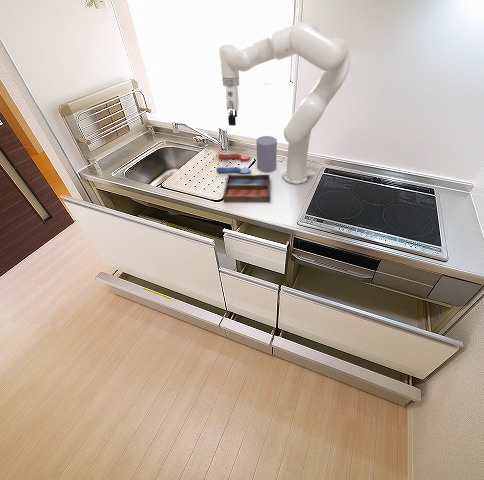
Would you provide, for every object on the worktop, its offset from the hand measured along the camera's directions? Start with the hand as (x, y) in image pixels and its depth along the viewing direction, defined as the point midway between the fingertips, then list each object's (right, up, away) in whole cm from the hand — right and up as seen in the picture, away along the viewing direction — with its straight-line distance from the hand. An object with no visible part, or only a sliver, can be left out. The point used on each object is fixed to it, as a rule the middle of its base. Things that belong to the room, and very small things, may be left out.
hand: (233, 120), depth 125 cm
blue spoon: (-2, -22, +12) cm, 25 cm away
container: (+16, -18, +16) cm, 29 cm away
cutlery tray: (+7, -34, +1) cm, 34 cm away
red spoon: (-3, -11, +22) cm, 25 cm away
